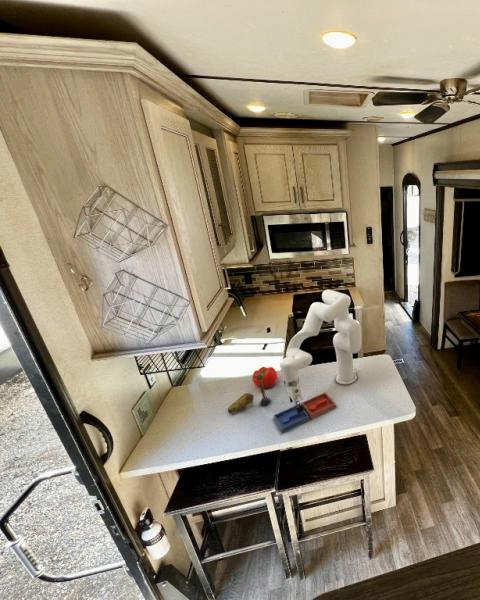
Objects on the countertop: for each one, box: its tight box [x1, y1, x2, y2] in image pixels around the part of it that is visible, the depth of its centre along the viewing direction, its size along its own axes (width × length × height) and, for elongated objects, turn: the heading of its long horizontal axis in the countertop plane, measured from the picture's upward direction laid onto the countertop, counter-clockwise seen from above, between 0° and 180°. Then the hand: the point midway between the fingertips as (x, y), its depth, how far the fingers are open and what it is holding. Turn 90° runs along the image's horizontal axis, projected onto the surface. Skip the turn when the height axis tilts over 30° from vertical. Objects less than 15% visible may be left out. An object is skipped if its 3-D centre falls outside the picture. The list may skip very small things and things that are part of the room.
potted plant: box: [252, 373, 271, 407], centre depth 179 cm, size 6×5×20 cm
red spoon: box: [310, 398, 327, 411], centre depth 179 cm, size 10×4×2 cm, turn 128°
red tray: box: [302, 392, 337, 420], centre depth 179 cm, size 14×12×3 cm
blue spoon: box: [282, 412, 301, 424], centre depth 170 cm, size 10×4×2 cm, turn 128°
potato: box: [227, 392, 254, 414], centre depth 178 cm, size 8×13×8 cm, turn 109°
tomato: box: [251, 366, 278, 389], centre depth 196 cm, size 14×13×10 cm
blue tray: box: [273, 404, 310, 434], centre depth 171 cm, size 14×12×3 cm
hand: (297, 406), depth 172 cm, fingers open, 9 cm apart
